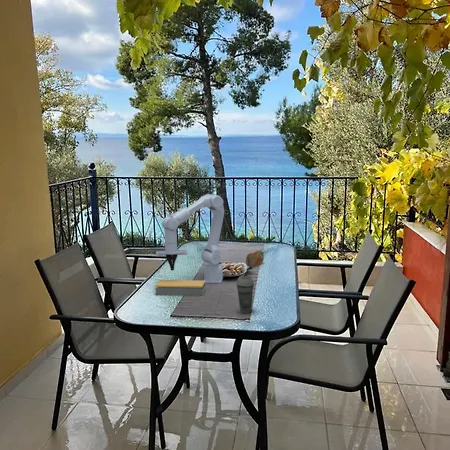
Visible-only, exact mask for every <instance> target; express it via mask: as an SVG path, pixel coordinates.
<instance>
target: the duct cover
mask: <svg viewBox="0 0 450 450" xmlns="http://www.w3.org/2000/svg"><path fill="white" fill-rule="evenodd" d="M204 284H205V285H206V283H205V281H203V280H191V279H189V280H188V279H160V280H159V281H158V282H157V283H156V284H155V288H156V287H186V288H202V287H203V285H204Z"/></svg>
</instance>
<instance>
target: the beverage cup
mask: <svg viewBox="0 0 450 450" xmlns="http://www.w3.org/2000/svg"><path fill="white" fill-rule="evenodd" d="M241 269H242V270H241V271H242V275H240V276H239V277H238V278H237V280H236V289H237V294H238V295H237V296H238V302H239V303H238V306H239V310H240V313H241V314H250V313H251V312H252V307H253V306H252V304H253V291H254V285H255V283H254V279H253V278H252V276H250V275H249V274H245V270H244V264H243V263H242V264H241Z"/></svg>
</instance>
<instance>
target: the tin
mask: <svg viewBox="0 0 450 450" xmlns="http://www.w3.org/2000/svg"><path fill="white" fill-rule="evenodd" d="M264 258H265V255H264V253H263V251H262V250H255V251H252V252H249V253H248V254H247V255H246V257H245V263H246V267H248V266H249V267H251V269H255V268H256V267H259V266H261V265H263V262H264ZM249 267H248V268H249ZM254 267H255V268H254Z"/></svg>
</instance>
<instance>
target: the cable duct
mask: <svg viewBox="0 0 450 450" xmlns="http://www.w3.org/2000/svg"><path fill="white" fill-rule="evenodd" d="M205 291H206V283H205V284H204V285H203V287H202V288H186V287H155V295H156V296H194V297H195V296H197V297H203V296H204V293H205Z"/></svg>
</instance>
